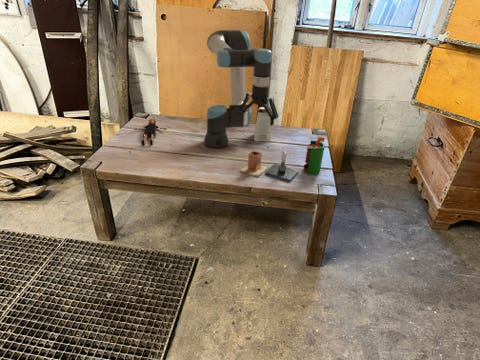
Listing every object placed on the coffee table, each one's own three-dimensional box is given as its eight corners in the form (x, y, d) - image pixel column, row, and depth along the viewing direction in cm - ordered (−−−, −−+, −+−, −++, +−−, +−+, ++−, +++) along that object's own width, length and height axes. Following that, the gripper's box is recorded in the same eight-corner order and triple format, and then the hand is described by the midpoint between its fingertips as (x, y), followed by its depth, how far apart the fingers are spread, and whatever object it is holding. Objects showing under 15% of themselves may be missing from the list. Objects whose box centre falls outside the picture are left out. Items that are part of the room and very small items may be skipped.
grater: (270, 141, 205) (273, 111, 195) (254, 140, 205) (256, 110, 195) (269, 135, 214) (272, 106, 204) (253, 134, 214) (256, 105, 204)
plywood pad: (240, 171, 170) (240, 169, 170) (249, 163, 178) (250, 161, 178) (258, 177, 166) (258, 175, 165) (267, 168, 174) (267, 167, 173)
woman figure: (128, 140, 187) (136, 116, 216) (130, 149, 190) (137, 124, 219) (164, 139, 190) (167, 116, 219) (165, 148, 193) (168, 124, 222)
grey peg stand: (265, 174, 169) (267, 153, 162) (274, 166, 177) (276, 145, 171) (289, 182, 163) (293, 160, 157) (297, 173, 171) (301, 152, 165)
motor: (301, 165, 179) (306, 132, 168) (316, 165, 180) (323, 132, 169) (305, 175, 170) (312, 140, 160) (322, 175, 171) (329, 140, 161)
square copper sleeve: (247, 169, 171) (248, 153, 166) (252, 165, 174) (253, 150, 170) (255, 171, 169) (257, 156, 164) (260, 167, 172) (261, 152, 168)
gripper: (233, 81, 151) (231, 124, 162) (282, 92, 141) (276, 136, 152) (241, 78, 156) (239, 119, 168) (288, 88, 146) (283, 131, 157)
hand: (257, 127), depth 160 cm, fingers open, 13 cm apart
